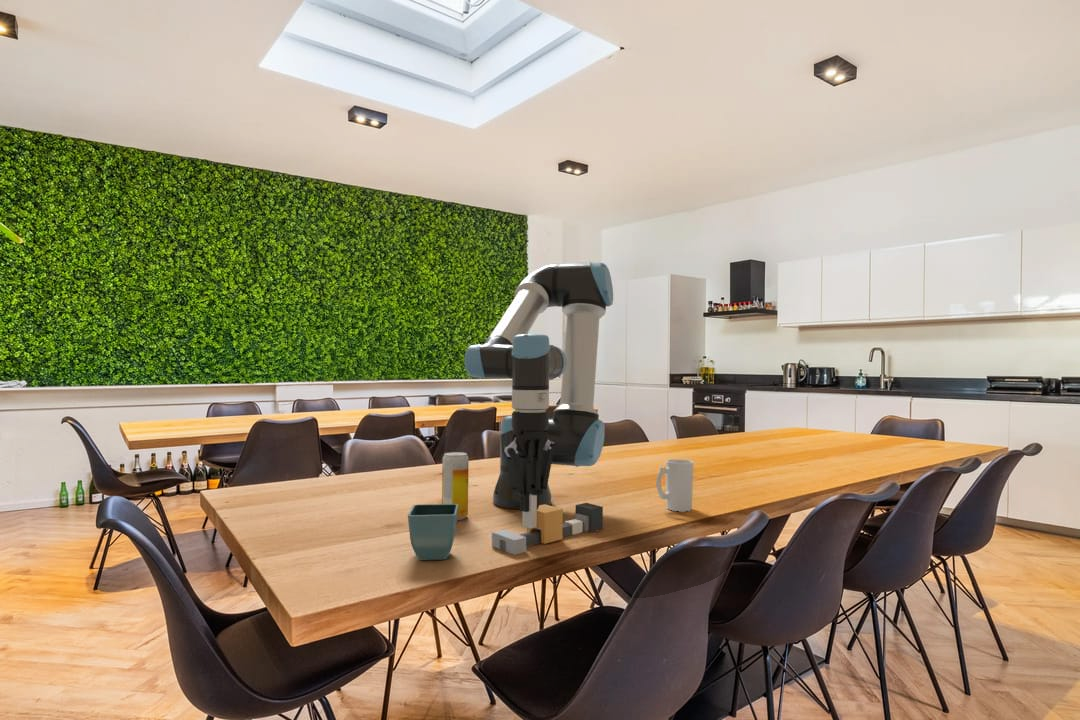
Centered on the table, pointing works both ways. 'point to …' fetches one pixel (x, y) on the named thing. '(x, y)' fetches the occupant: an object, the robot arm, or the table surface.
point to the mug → (677, 484)
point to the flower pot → (432, 530)
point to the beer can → (455, 481)
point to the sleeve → (549, 523)
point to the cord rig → (585, 520)
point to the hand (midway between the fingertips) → (529, 526)
